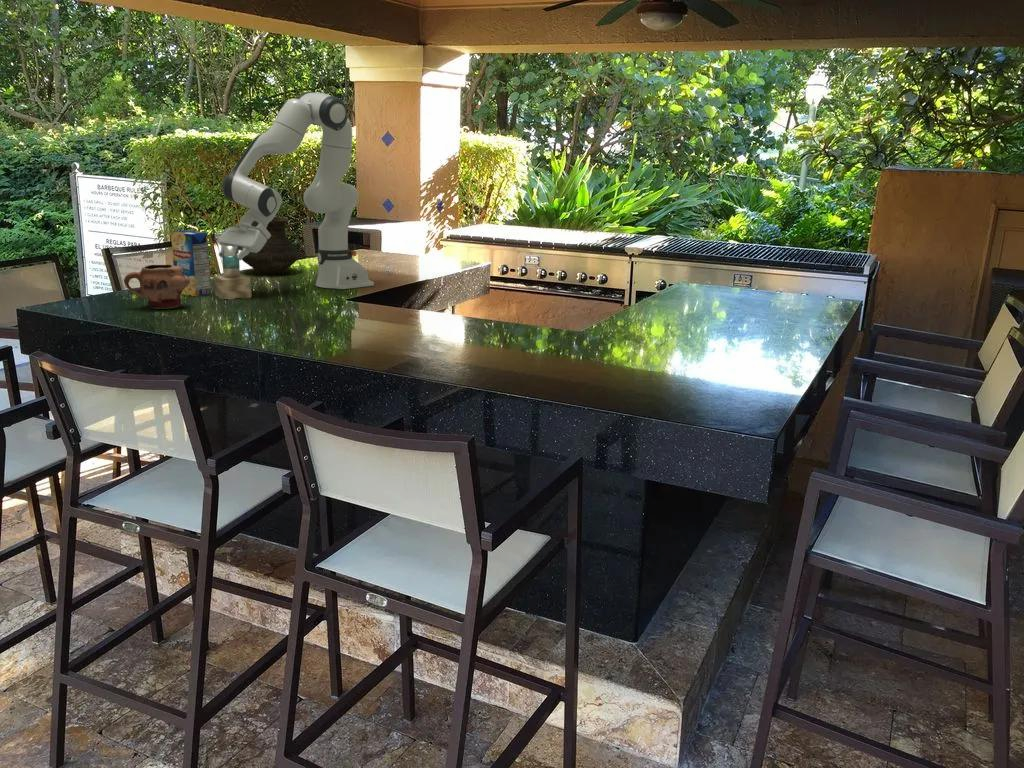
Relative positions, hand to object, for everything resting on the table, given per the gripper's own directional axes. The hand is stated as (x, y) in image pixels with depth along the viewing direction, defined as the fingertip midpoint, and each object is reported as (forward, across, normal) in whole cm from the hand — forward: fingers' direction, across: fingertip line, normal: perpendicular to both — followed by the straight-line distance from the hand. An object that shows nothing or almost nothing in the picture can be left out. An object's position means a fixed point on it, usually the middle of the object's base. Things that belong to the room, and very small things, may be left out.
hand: (229, 257), depth 301 cm
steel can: (+4, 0, +5) cm, 7 cm away
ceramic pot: (-22, -34, +42) cm, 58 cm away
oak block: (+9, 0, +10) cm, 14 cm away
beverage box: (+14, -14, +6) cm, 21 cm away
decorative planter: (+30, 0, -10) cm, 31 cm away
